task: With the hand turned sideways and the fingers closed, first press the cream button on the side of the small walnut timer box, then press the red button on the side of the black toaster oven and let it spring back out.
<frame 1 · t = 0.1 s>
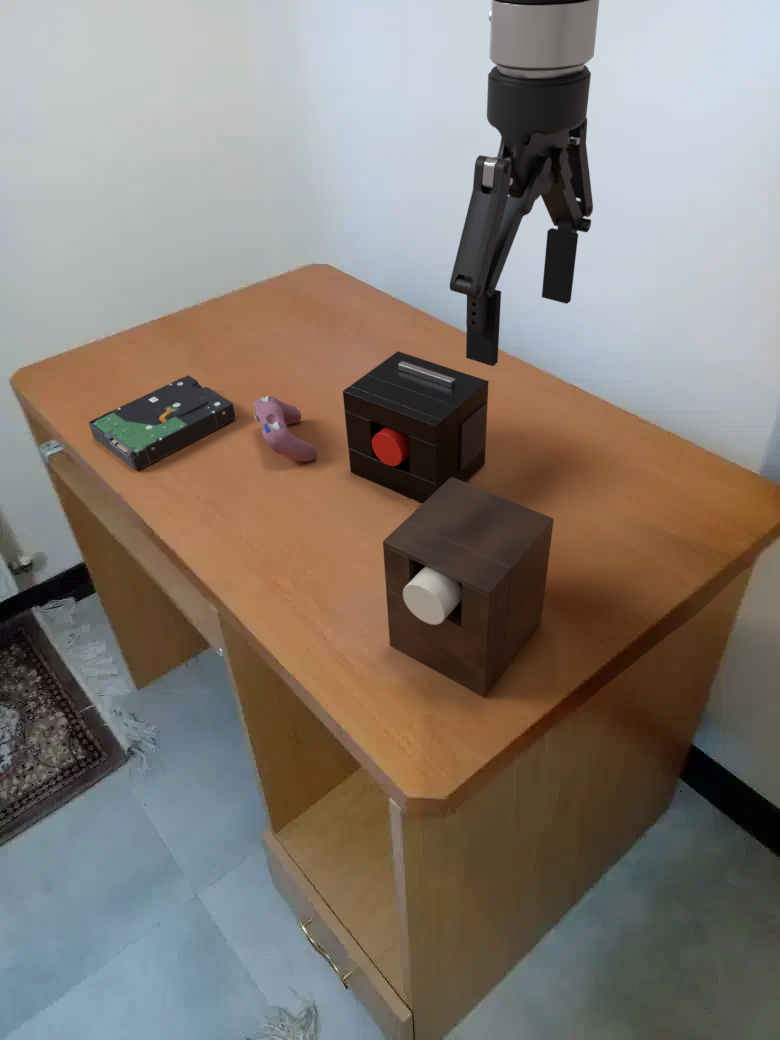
hand: (520, 328, 72), 21 cm above the table, tool pointing down, fingers open, 13 cm apart
toaster oven: (422, 463, 92), on the table
timer button: (432, 594, 63), point 10 cm above the table, slide at 0.1 cm
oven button: (393, 444, 85), point 6 cm above the table, slide at 0.1 cm
video game controller: (286, 446, 96), on the table
disk drive: (166, 431, 100), on the table
timer box: (466, 634, 72), on the table
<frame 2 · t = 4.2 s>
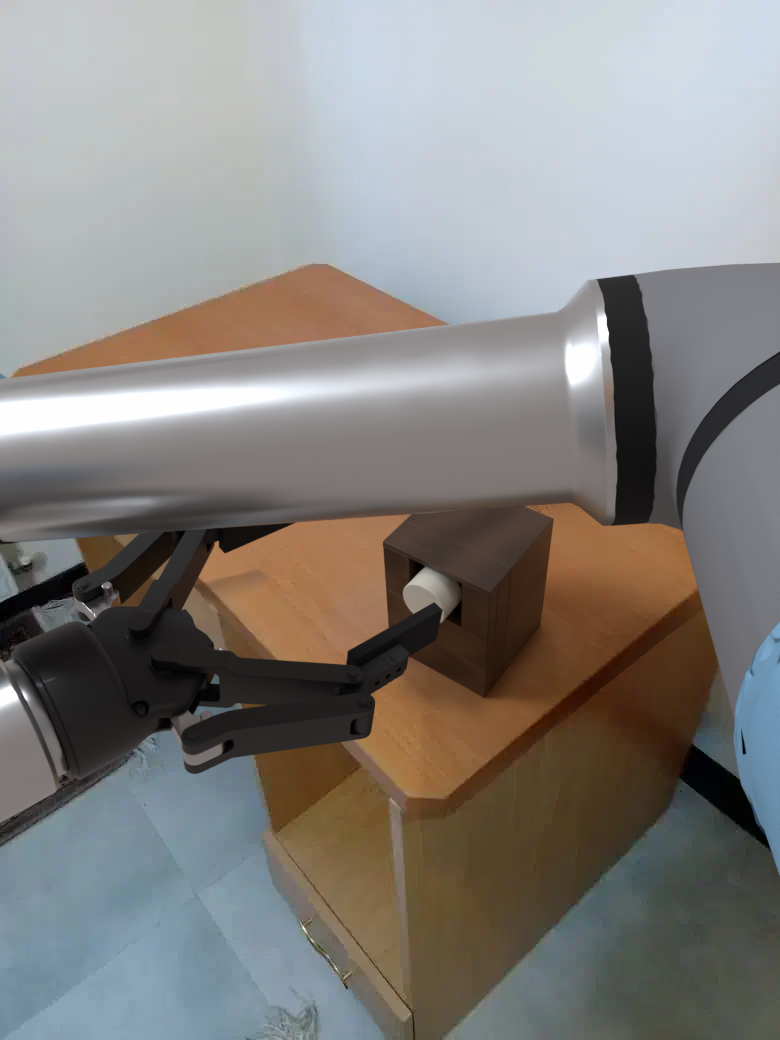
hand: (365, 556, 51), 20 cm above the table, tool horizontal, fingers open, 13 cm apart
nothing on the table moved.
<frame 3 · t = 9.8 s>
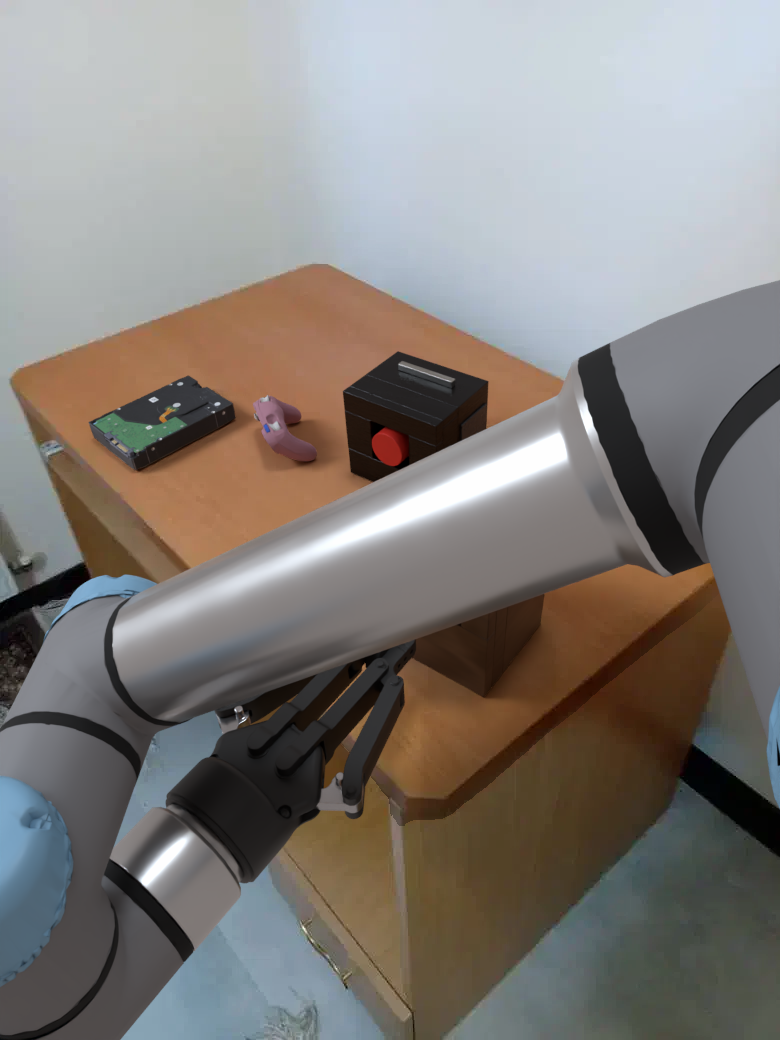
hand: (422, 606, 62), 10 cm above the table, tool horizontal, fingers closed
timer button: (434, 593, 63), point 10 cm above the table, slide at -0.1 cm, touching gripper
everything else where it was.
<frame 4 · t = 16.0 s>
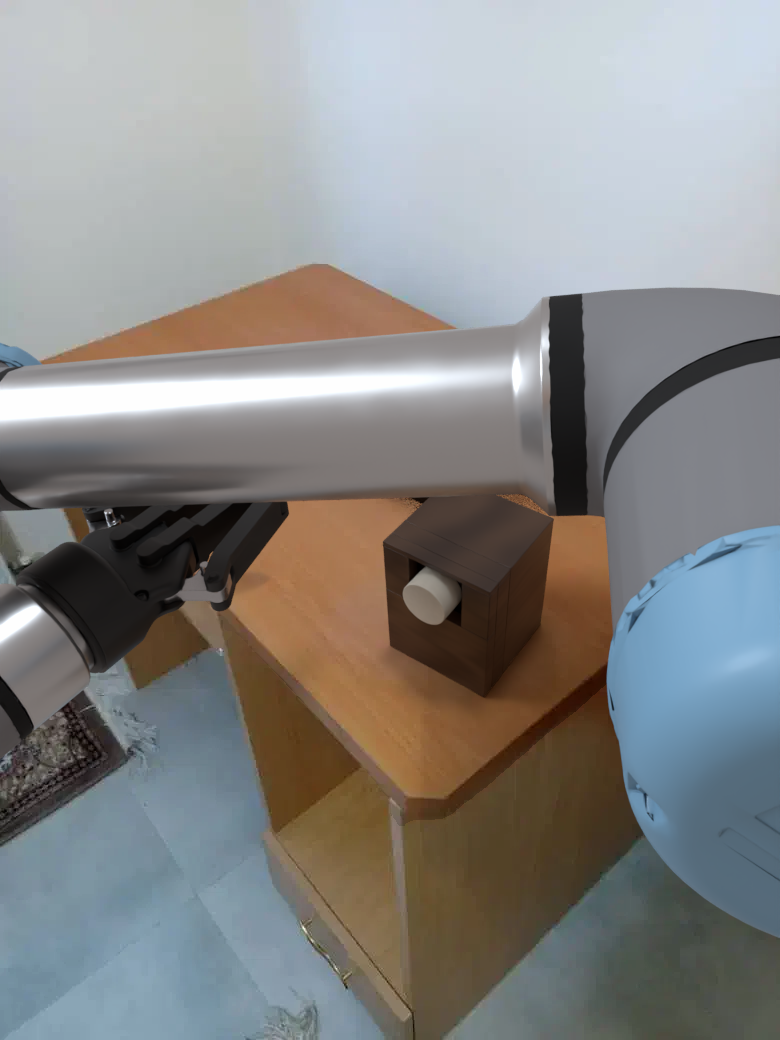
hand: (317, 430, 59), 22 cm above the table, tool horizontal, fingers closed
timer button: (432, 595, 63), point 10 cm above the table, slide at 0.1 cm
everything else where it was.
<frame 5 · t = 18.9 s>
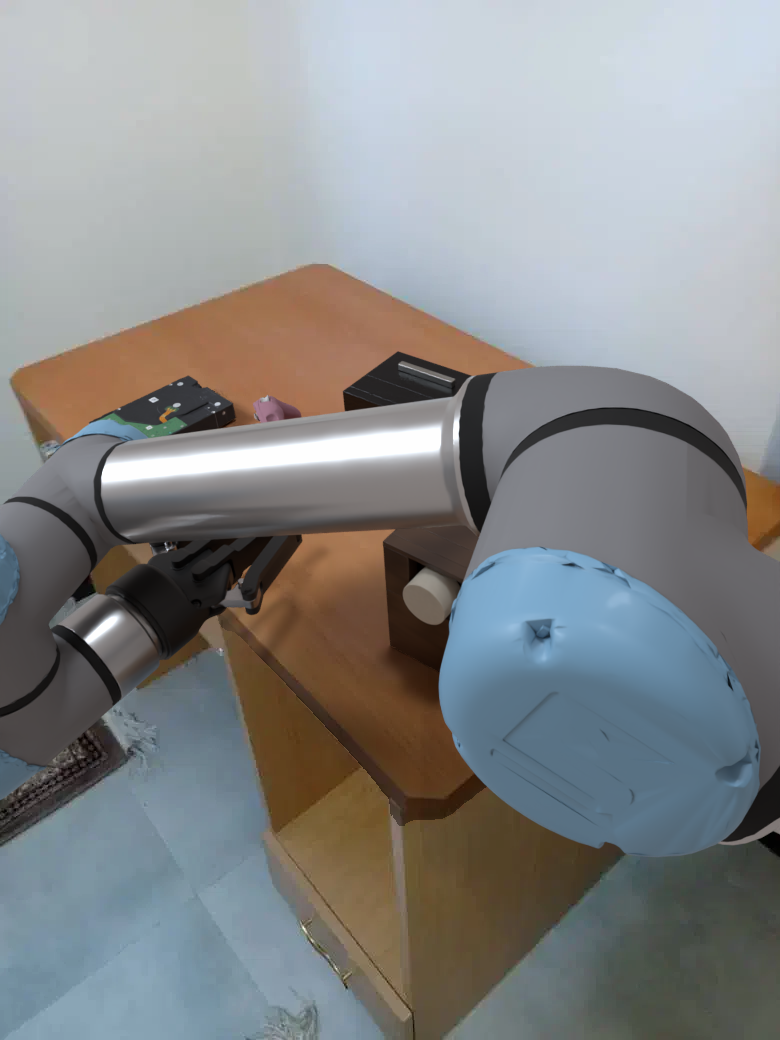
hand: (324, 473, 76), 9 cm above the table, tool horizontal, fingers closed
nothing on the table moved.
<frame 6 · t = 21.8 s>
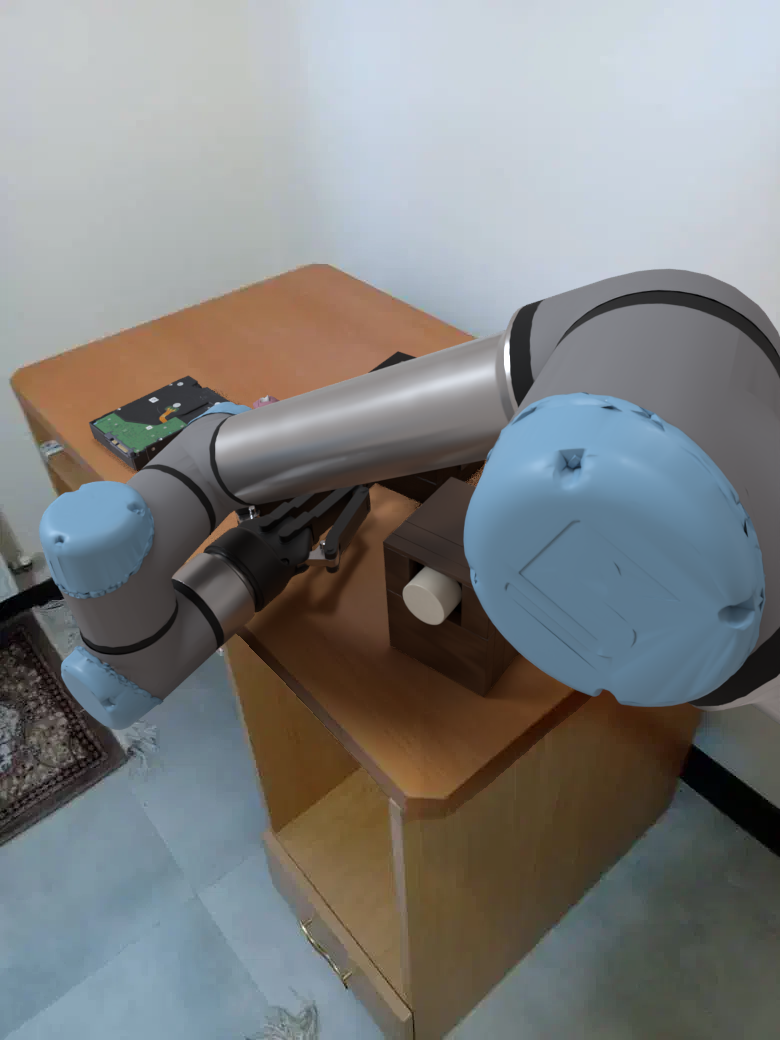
hand: (385, 450, 84), 6 cm above the table, tool horizontal, fingers closed
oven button: (395, 443, 85), point 6 cm above the table, slide at -0.1 cm, touching gripper
everything else where it was.
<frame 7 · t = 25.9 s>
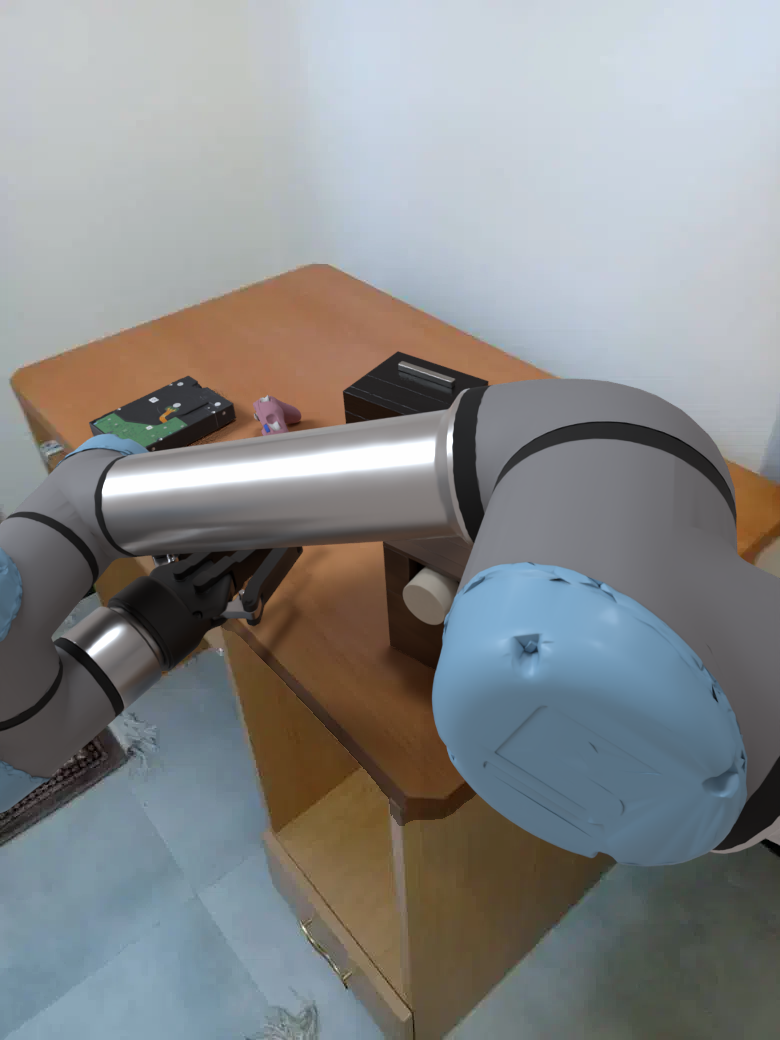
hand: (324, 484, 77), 8 cm above the table, tool horizontal, fingers closed
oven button: (393, 444, 85), point 6 cm above the table, slide at 0.1 cm
everything else where it was.
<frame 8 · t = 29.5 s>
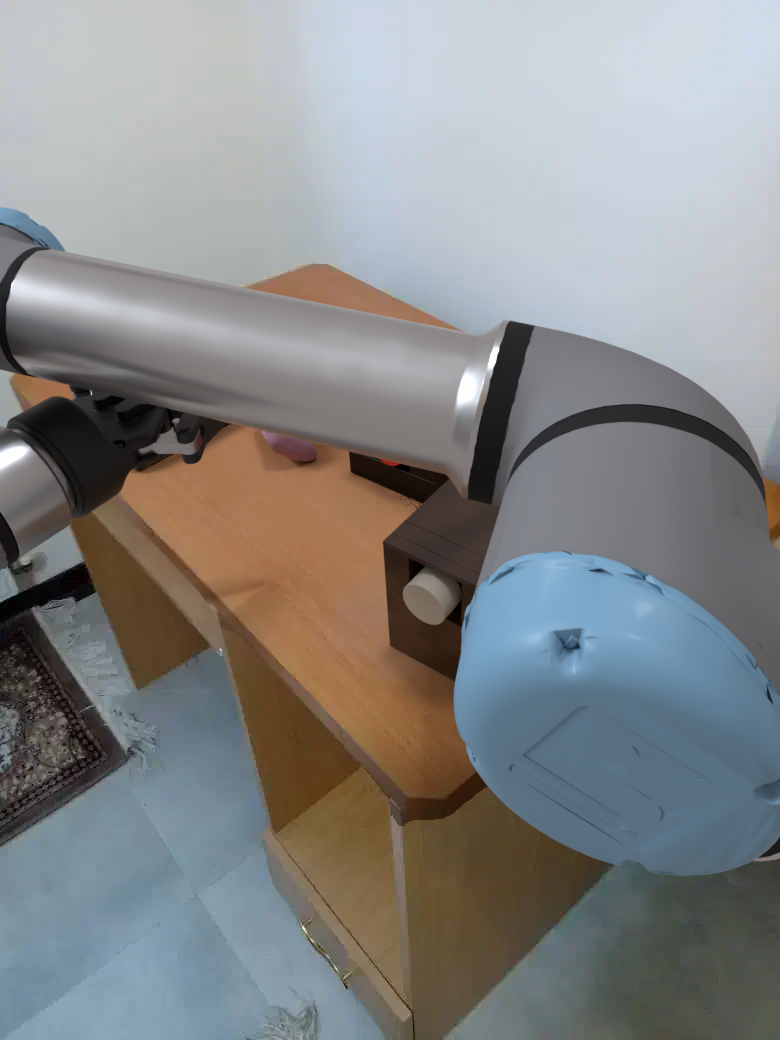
hand: (287, 323, 64), 26 cm above the table, tool horizontal, fingers closed
nothing on the table moved.
at the end: timer button pushed in 1.9 cm at the most during the clip, back to where it started at the end; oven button pushed in 1.9 cm at the most during the clip, back to where it started at the end; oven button slide at 0.1 cm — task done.
